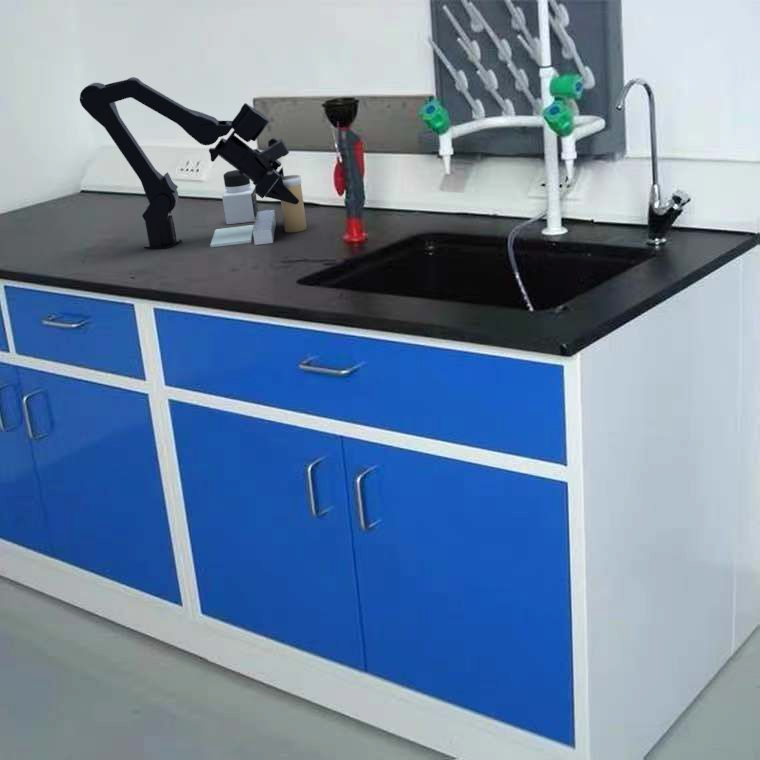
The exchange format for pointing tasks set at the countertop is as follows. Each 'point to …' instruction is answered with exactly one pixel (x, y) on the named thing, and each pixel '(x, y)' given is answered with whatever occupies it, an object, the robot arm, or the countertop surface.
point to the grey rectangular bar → (264, 227)
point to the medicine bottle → (239, 199)
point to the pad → (232, 236)
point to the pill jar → (294, 206)
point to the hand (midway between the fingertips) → (298, 200)
